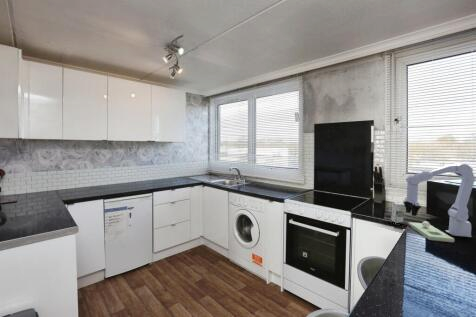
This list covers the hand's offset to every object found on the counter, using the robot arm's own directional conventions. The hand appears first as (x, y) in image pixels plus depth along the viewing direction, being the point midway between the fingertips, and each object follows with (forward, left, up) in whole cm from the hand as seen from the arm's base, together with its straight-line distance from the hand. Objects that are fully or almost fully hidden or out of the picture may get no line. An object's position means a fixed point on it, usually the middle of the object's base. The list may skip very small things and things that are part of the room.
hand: (411, 214), depth 149 cm
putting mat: (-8, +6, -10) cm, 14 cm away
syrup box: (+4, -9, -10) cm, 14 cm away
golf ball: (-8, +2, -6) cm, 10 cm away
